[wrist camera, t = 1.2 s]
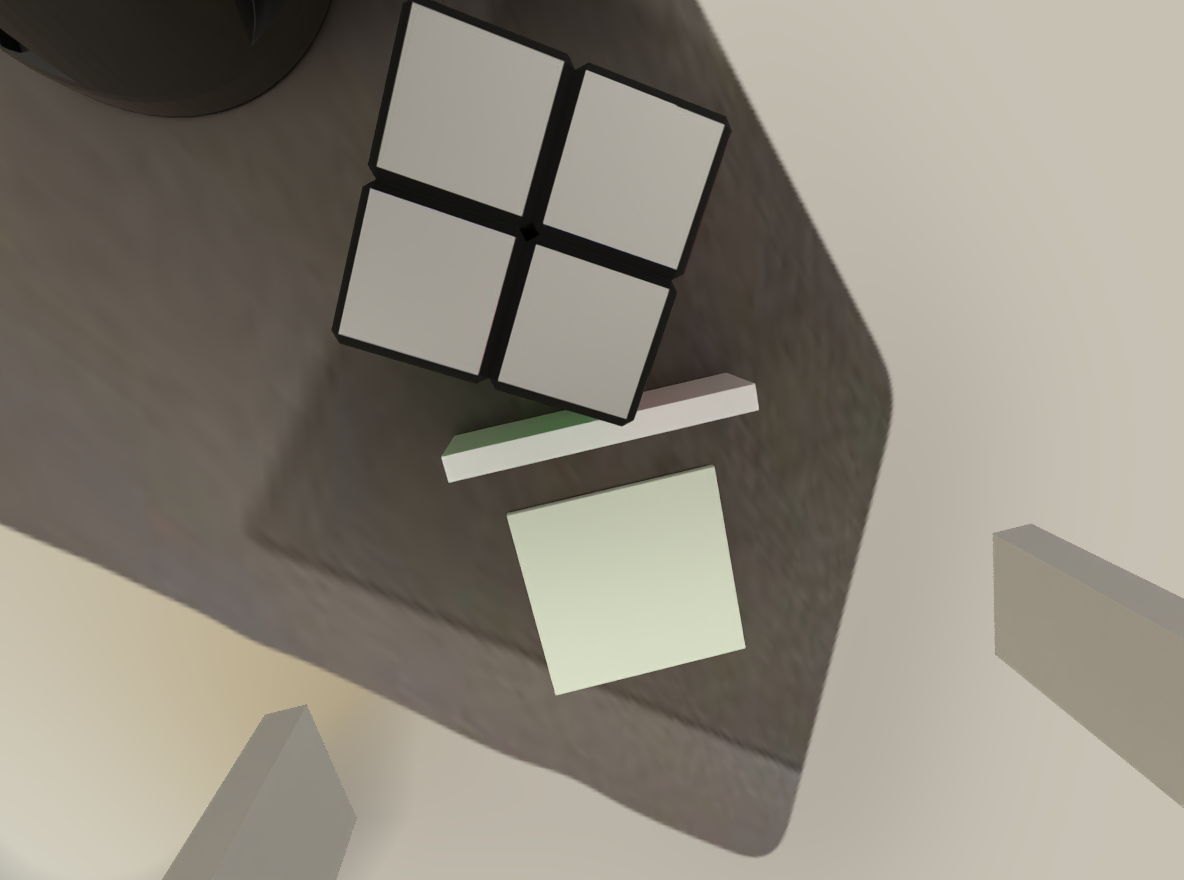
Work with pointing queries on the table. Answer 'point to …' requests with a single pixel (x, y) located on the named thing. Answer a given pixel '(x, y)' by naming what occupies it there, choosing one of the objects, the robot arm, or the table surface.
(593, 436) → the white flat bar
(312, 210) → the table surface
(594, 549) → the pale green square
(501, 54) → the puzzle cube
